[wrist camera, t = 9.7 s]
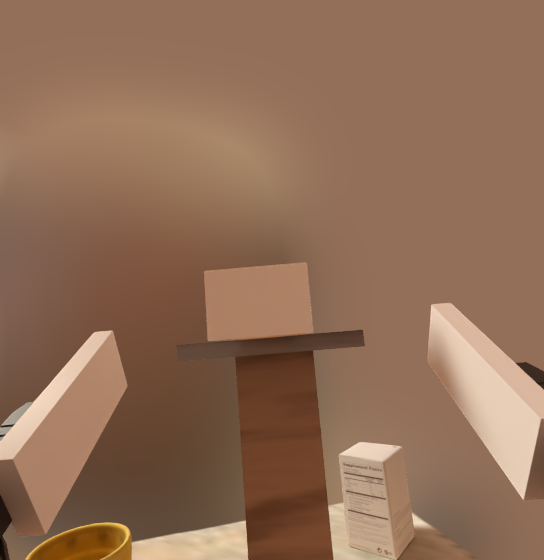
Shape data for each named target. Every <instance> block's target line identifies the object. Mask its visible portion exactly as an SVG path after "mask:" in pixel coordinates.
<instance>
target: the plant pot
mask: <svg viewBox="0 0 544 560" xmlns="http://www.w3.org/2000/svg"><path fill="white" fill-rule="evenodd" d="M131 557H132V545H131V533H130V530H129V529H128V528H127V527H126V526H124V525H122V524H118V523H96V524H91V525H86V526H81V527H78V528H75V529H71V530H68V531H66V532H63V533H61V534H59V535H56V536H54V537H52V538H50V539H48V540H47V541H45V542H43V543H42V544H40V545H39V546H38V547H36V548H35V549H34V550H33V551H32V552H31V553H30V554H29V555H28V556H27V558H26V559H25V560H131Z"/></svg>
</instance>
